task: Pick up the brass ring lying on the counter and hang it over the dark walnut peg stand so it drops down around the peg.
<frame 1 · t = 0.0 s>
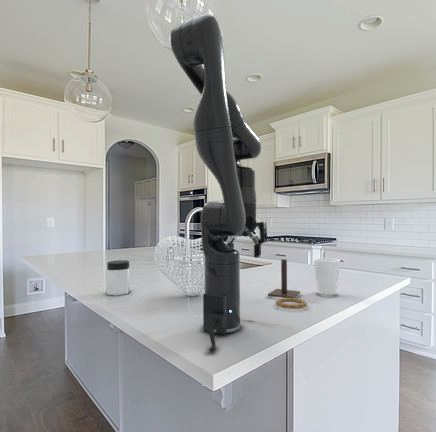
hand: (243, 256, 92), 17 cm above the countertop, tool pointing down, fingers open, 8 cm apart
ring: (291, 303, 99), point 1 cm above the countertop
jar: (118, 293, 118), on the countertop
heart: (192, 296, 113), on the countertop
post: (284, 296, 111), on the countertop
foam cup: (326, 295, 113), on the countertop
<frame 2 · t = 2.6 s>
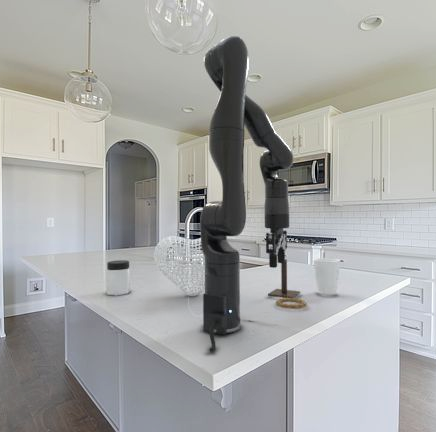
hand: (277, 265, 95), 14 cm above the countertop, tool pointing down, fingers open, 8 cm apart
nothing on the countertop moved.
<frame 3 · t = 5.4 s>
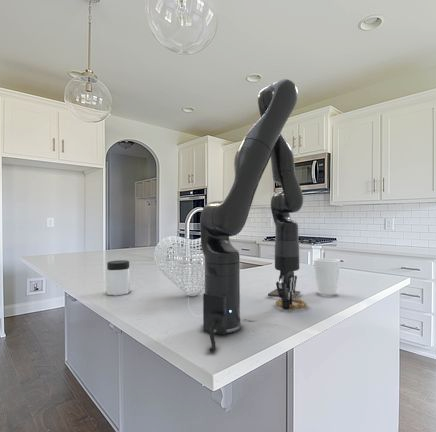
hand: (287, 309, 95), 0 cm above the countertop, tool pointing down, fingers closed on ring, 2 cm apart
ring: (290, 304, 98), point 1 cm above the countertop, touching gripper
everything else where it was.
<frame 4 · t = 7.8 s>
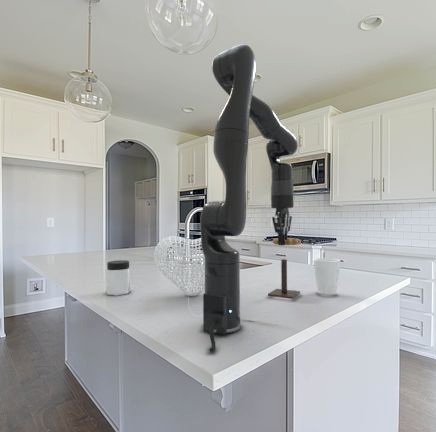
hand: (282, 244, 105), 19 cm above the countertop, tool pointing down, fingers closed on ring
ring: (286, 241, 108), point 20 cm above the countertop, touching gripper
everything else where it was.
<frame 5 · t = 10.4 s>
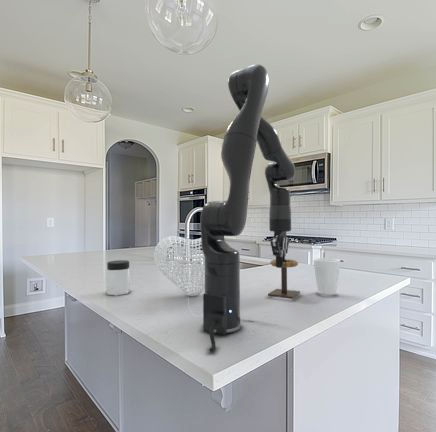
hand: (280, 266, 108), 11 cm above the countertop, tool pointing down, fingers closed on ring
ring: (284, 263, 111), point 12 cm above the countertop, touching gripper
everything else where it was.
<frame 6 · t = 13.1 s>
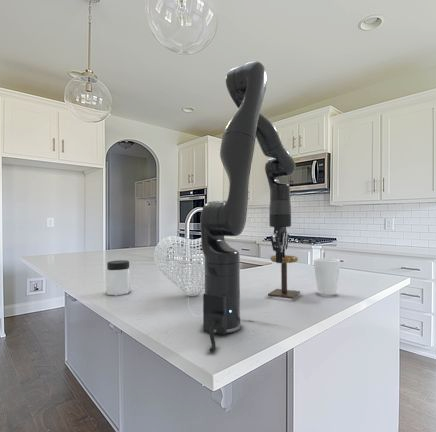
hand: (280, 262, 108), 13 cm above the countertop, tool pointing down, fingers closed on ring
ring: (284, 258, 111), point 14 cm above the countertop, touching gripper
everything else where it was.
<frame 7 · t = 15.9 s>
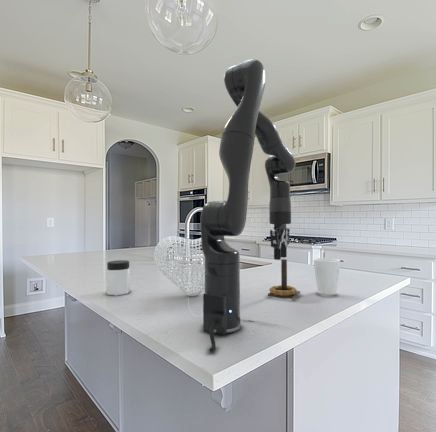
hand: (280, 258, 108), 14 cm above the countertop, tool pointing down, fingers open, 5 cm apart
ring: (283, 290, 111), point 2 cm above the countertop, touching post
everything else where it was.
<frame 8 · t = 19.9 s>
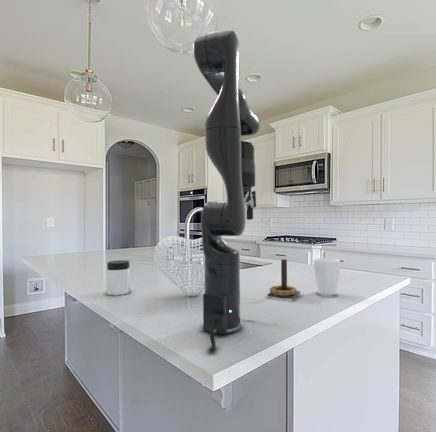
hand: (244, 219, 106), 28 cm above the countertop, tool pointing down, fingers open, 8 cm apart
nothing on the countertop moved.
at the end: ring 0.8 cm from the post (horizontally); ring point 2.4 cm above the countertop; the gripper is holding nothing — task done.
